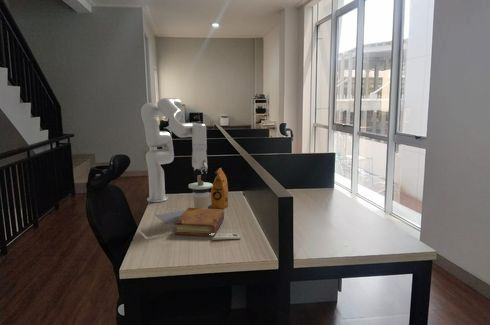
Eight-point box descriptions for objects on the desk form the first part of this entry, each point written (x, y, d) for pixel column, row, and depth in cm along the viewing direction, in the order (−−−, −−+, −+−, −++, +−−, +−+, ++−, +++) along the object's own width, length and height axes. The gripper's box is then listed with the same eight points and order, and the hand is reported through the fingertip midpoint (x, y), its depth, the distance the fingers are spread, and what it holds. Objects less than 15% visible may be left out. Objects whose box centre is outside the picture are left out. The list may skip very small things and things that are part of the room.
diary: (214, 237, 168) (214, 224, 167) (174, 234, 171) (174, 222, 170) (224, 219, 191) (224, 208, 190) (188, 217, 193) (188, 207, 192)
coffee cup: (211, 211, 208) (210, 185, 205) (207, 216, 199) (207, 188, 196) (195, 210, 208) (194, 184, 206) (191, 215, 200) (190, 188, 197)
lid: (184, 185, 203) (184, 175, 202) (206, 183, 210) (205, 172, 209) (194, 190, 192) (194, 179, 191) (216, 187, 199) (216, 176, 198)
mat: (155, 216, 198) (155, 215, 198) (183, 211, 207) (183, 210, 207) (165, 224, 185) (165, 223, 185) (195, 219, 193) (195, 217, 193)
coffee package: (208, 209, 212) (207, 171, 209) (214, 203, 224) (213, 167, 221) (225, 209, 210) (224, 171, 207) (230, 203, 222) (229, 167, 219)
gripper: (186, 145, 203) (187, 177, 206) (200, 149, 188) (200, 183, 191) (199, 145, 207) (200, 175, 210) (213, 148, 192) (213, 181, 195)
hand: (200, 179), depth 201 cm, fingers open, 8 cm apart
